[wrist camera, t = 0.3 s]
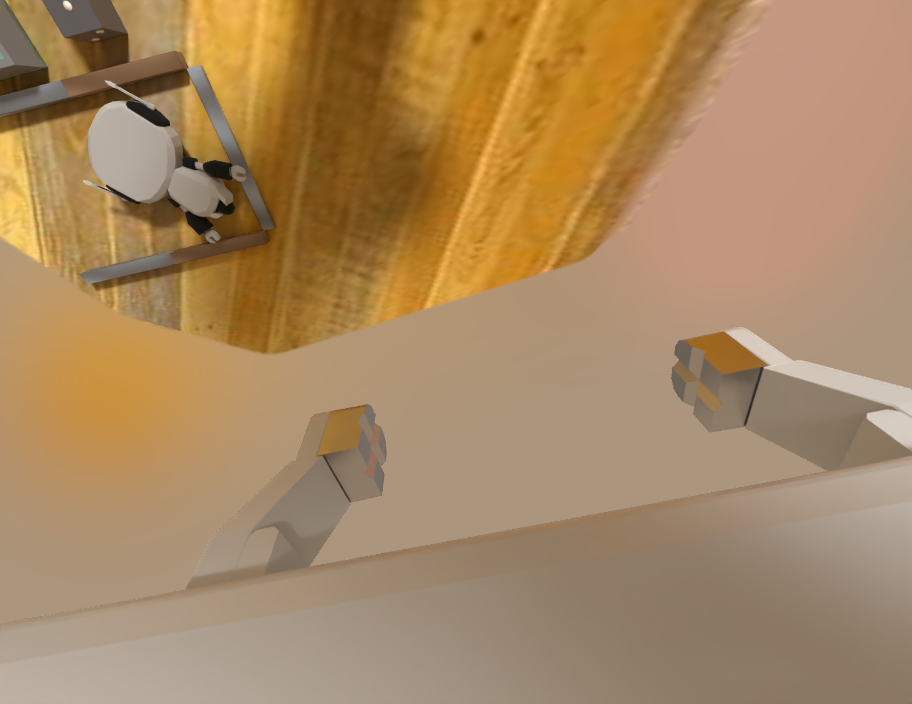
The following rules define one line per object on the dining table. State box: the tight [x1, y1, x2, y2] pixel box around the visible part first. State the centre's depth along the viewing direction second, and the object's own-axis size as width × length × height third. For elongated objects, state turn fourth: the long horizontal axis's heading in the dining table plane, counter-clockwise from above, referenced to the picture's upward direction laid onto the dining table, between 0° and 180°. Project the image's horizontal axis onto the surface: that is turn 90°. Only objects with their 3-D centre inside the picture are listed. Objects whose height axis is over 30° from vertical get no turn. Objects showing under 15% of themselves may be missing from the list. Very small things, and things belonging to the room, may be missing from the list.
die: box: [42, 0, 128, 43], centre depth 38 cm, size 4×4×4 cm
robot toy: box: [83, 81, 246, 243], centre depth 46 cm, size 12×4×15 cm
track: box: [0, 51, 275, 284], centre depth 48 cm, size 21×28×2 cm
